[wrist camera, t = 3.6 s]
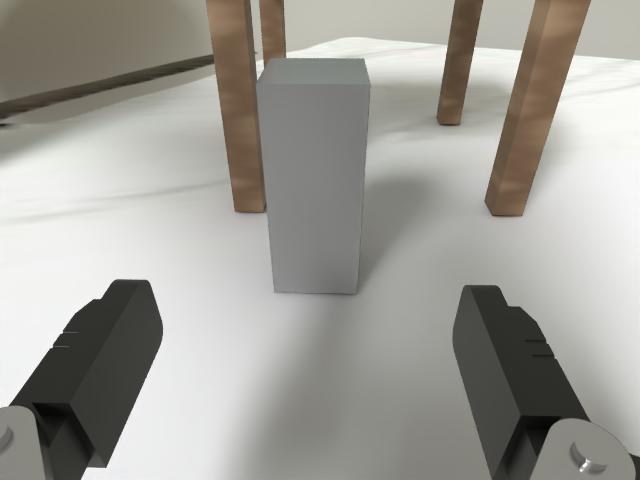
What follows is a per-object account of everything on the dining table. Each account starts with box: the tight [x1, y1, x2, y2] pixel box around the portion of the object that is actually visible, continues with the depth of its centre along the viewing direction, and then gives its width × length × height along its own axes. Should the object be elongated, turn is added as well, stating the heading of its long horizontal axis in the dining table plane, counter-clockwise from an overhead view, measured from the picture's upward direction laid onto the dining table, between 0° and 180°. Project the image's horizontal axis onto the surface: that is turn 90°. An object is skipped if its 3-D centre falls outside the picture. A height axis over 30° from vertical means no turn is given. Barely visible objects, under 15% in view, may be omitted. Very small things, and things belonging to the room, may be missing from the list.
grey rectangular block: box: [256, 58, 370, 294], centre depth 22 cm, size 4×4×11 cm
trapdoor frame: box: [206, 0, 591, 216], centre depth 34 cm, size 20×20×14 cm
